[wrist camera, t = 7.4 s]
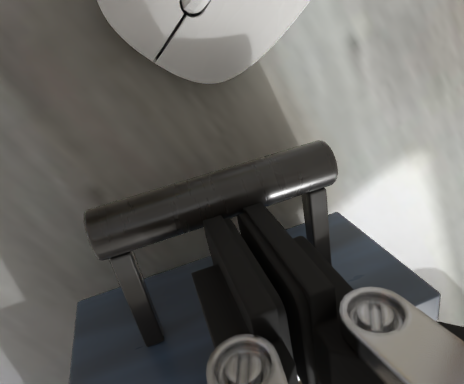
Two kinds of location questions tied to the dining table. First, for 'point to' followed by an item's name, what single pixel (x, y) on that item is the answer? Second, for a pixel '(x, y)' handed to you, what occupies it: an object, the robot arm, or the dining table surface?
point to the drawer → (180, 279)
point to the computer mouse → (202, 32)
